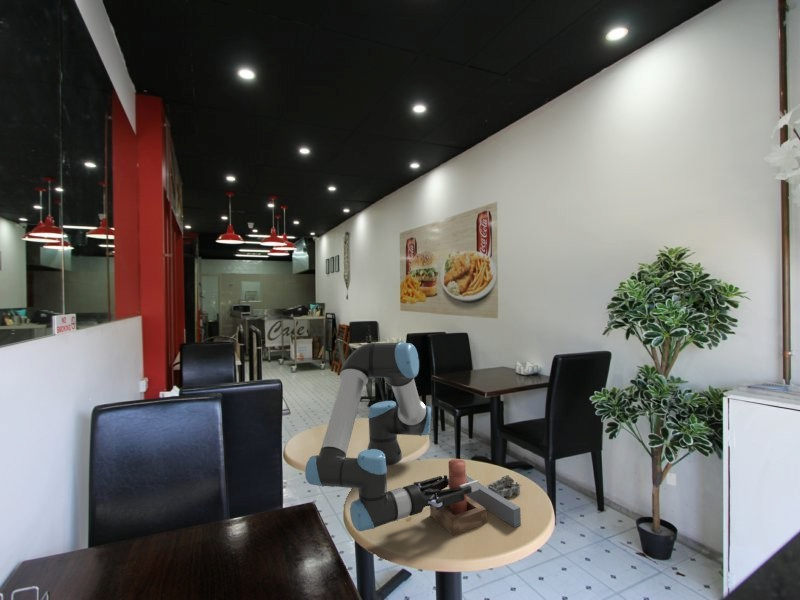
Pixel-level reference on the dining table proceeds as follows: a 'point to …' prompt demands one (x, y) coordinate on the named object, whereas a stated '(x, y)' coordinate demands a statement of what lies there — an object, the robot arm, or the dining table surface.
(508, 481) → the grey rough frame
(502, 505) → the backstop wall
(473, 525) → the socket block
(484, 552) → the dining table surface
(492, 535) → the dining table surface
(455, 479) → the dowel
